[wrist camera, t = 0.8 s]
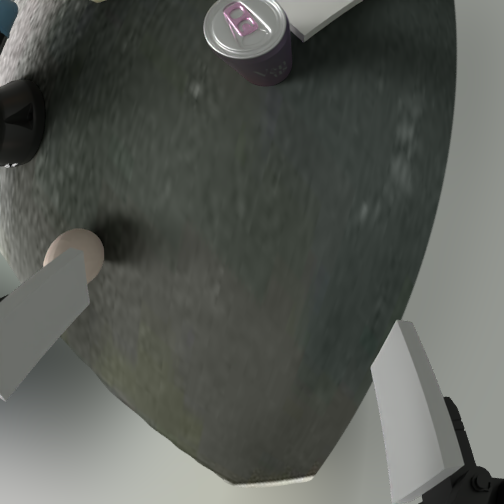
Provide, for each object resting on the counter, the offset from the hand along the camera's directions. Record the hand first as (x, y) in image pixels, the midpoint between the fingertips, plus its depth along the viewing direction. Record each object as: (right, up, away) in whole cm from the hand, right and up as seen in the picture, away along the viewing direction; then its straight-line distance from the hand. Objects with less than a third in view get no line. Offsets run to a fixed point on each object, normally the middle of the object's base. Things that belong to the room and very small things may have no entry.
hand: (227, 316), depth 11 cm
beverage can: (+2, +24, +18) cm, 30 cm away
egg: (-23, +4, +31) cm, 39 cm away
